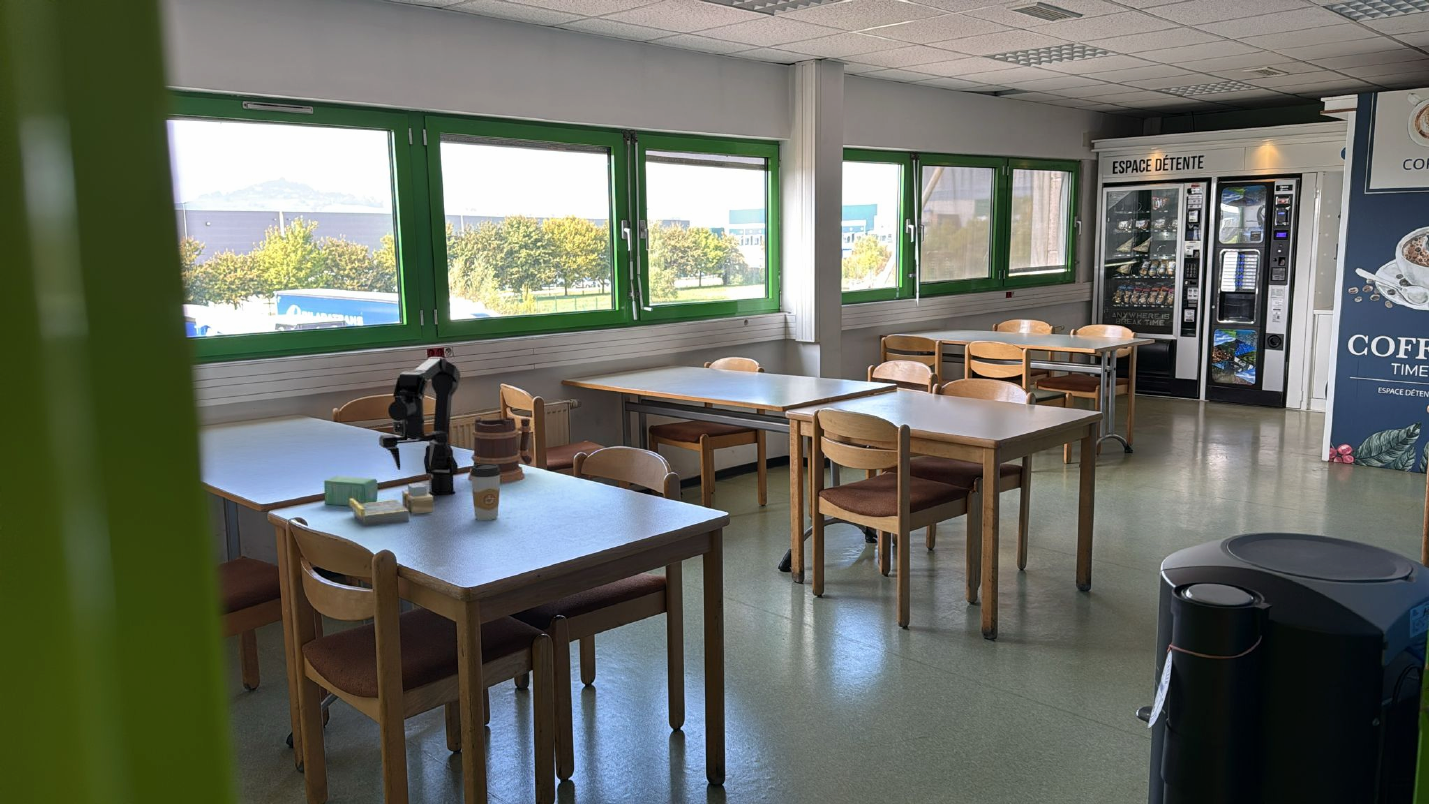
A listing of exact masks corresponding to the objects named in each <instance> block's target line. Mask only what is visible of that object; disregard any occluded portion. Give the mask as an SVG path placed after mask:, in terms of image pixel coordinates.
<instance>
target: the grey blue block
mask: <svg viewBox="0 0 1429 804" xmlns="http://www.w3.org/2000/svg"><path fill="white" fill-rule="evenodd" d="M407 490H408V493H409V494H411V495H412V496H419V495H427V492H428V491H427V485H426V484H424V483H423V482H417V483H409V484H407Z"/></svg>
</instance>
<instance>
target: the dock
mask: <svg viewBox="0 0 1429 804" xmlns="http://www.w3.org/2000/svg"><path fill="white" fill-rule="evenodd" d="M349 501H350V506H349V507H350V508H351V509H353V516H354V518H355V519H357V520H358V521H359V523H361V524H362V525H363V526H364V527H373V526H382V525H388V524H389V525H390V524H396V523H404V522H405V523H406V522H409V521H410V510H407V507H404V506H403V504H401V503H400V501H398V500H397V499H390V500H382V501H376V502H371V503H363V504H359V503H358V502H357V501H356V500H355V499H353V498H349Z"/></svg>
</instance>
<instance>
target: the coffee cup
mask: <svg viewBox="0 0 1429 804" xmlns="http://www.w3.org/2000/svg"><path fill="white" fill-rule="evenodd" d="M471 469H472V470H471V474H470V473H469V474H470V475H471V479H472V481H471V487H472V490H471V491H472V500H473V502H472V503H473V508H474V509H473V511H474V517H475V519H476V520H478V521H482V520H488V521H493V520H492V519H494V520H496V519H497V518H498V516H499V505H500V483H499V482H500V474H501V473H500V469H499V466H498V465H497V464H477V465H474V464H473V465H472V466H471ZM495 518H496V519H495Z"/></svg>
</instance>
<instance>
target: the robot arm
mask: <svg viewBox="0 0 1429 804" xmlns="http://www.w3.org/2000/svg"><path fill="white" fill-rule="evenodd" d="M429 380H430V381H431V387H432V389H433V391H434V394H435V405H434V417H433V428H432V429H433V430H432V431H430V432H429V434H425V428H424V427H425V426H424V425H425V419H424V418H425V417H424V398H425V392H426V388H427V387H428V382H429ZM460 381H461V373H460V370H459V369H458V367H457V366H456V365H455V364H453V363H451V362H449V361H447V359H446V358H444V357H443V356H430V357H427V359H426V360H425V361H423V363H421V364H420V365H418V367H416V368H415V369H412V370H411V369H410V370H405V371H402V372H400V374H399V375H398V377H397V379H396V383H395V387H394V390H393V395H392V397H393V398H394V401H393V402H391V403H390V404H389V407H388V409H387V413H388V414H389V415H388V416H389V417H390V418H391V419H392V420H394V421H393V422H392V433H393V434H382V435H380V436H379V438H378V443H379V444H378V445H380V447H382V448H384V449H385V450H387V451H389V452H390V454H391V455H392V457H393V460H394V462H395V466H396V468H397V470H399V471H400V470H401V459H400V458H401V457H400V448H399V447H398V446H397V445H398V444H409V443H421V442H422V443H423V442H428V443H429V444H428V445H426V446H425V453H424V454H425V455H424V457H423V465H424V469H425V474H426V475H430V477H429V478H428V486H429V487H428V488H429V491H428V492H430V493H431V494H433V495H434V496H439V495H441V496H442V495H449V494H450V495H451V494H456V491H455V490H454V475H457V474H458V470H459V469H458V468H459V465H458V463H457V461H456V459H455V457H454V451H453V448H452V447H451V445H450V443H449V437H450V426H451V425H450V424H451V411H452V402H453V401H452V398H453V396H454V394H455V392H456V391H457V390H458V388H459V382H460ZM401 422H402V423H401ZM395 434H399V436H396V435H395Z"/></svg>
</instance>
